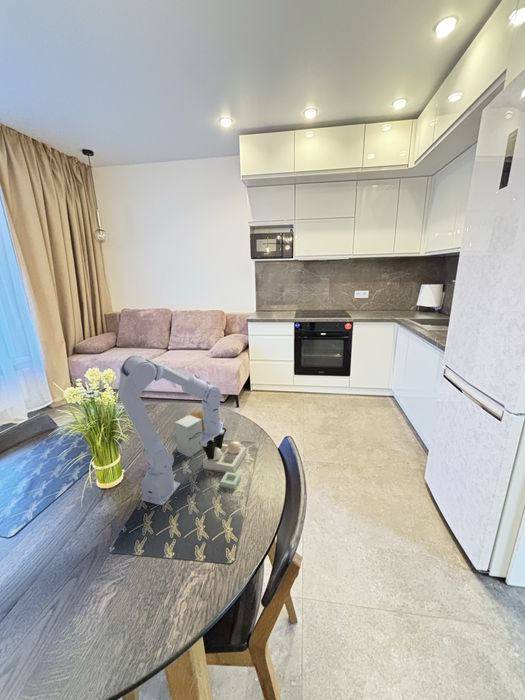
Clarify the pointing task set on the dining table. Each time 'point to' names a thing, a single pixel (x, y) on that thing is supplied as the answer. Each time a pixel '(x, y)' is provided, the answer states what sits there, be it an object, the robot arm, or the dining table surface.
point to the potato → (200, 416)
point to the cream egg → (217, 454)
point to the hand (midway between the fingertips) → (214, 453)
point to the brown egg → (234, 447)
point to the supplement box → (188, 435)
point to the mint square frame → (230, 480)
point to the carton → (225, 461)
